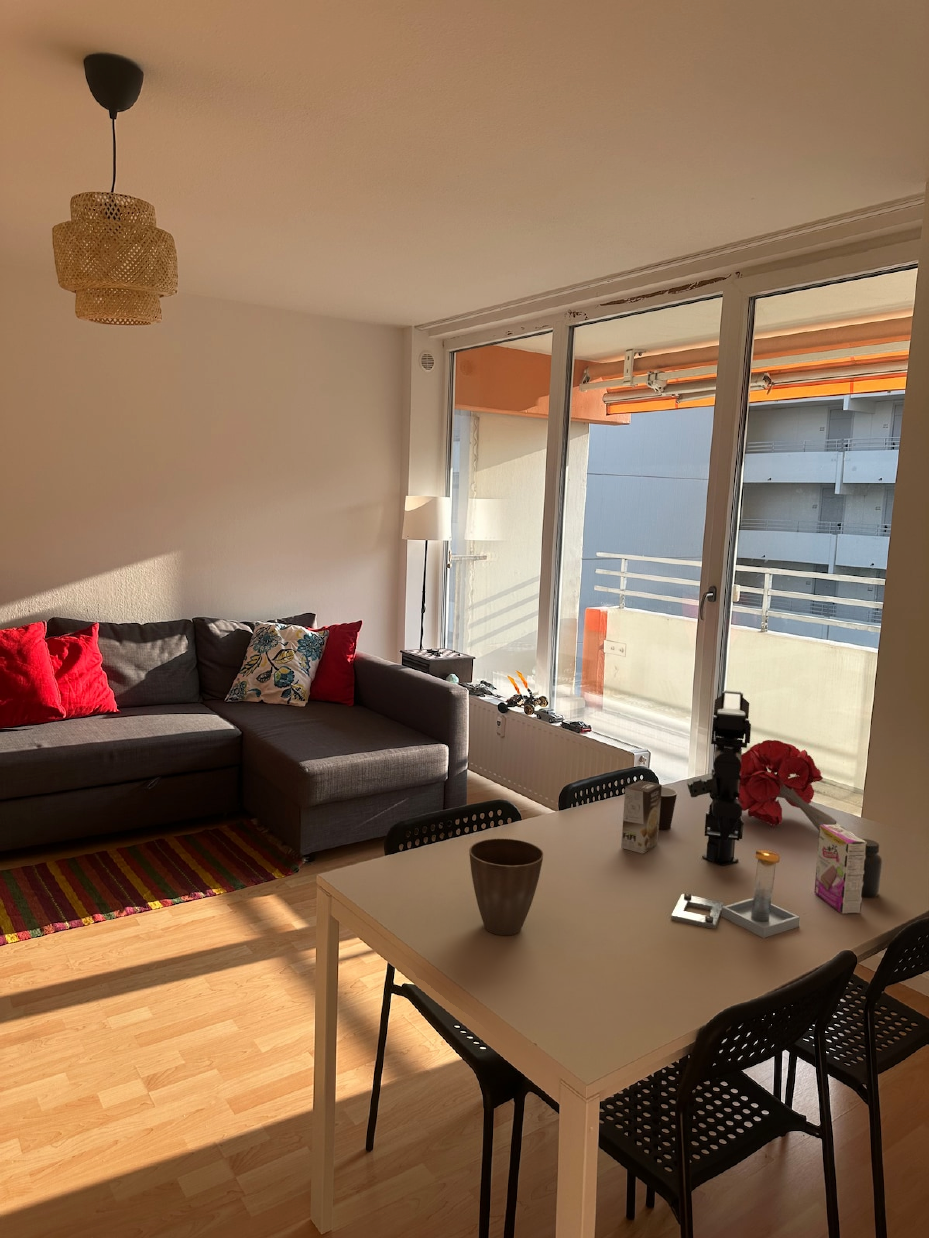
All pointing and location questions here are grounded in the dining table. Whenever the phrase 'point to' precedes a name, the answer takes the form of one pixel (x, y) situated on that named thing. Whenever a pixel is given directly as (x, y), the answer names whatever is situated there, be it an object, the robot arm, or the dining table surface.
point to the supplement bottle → (872, 870)
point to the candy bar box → (840, 868)
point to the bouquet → (779, 782)
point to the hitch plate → (697, 919)
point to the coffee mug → (667, 808)
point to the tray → (776, 924)
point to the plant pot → (504, 882)
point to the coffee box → (641, 816)
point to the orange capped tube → (764, 884)
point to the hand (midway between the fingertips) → (722, 833)
